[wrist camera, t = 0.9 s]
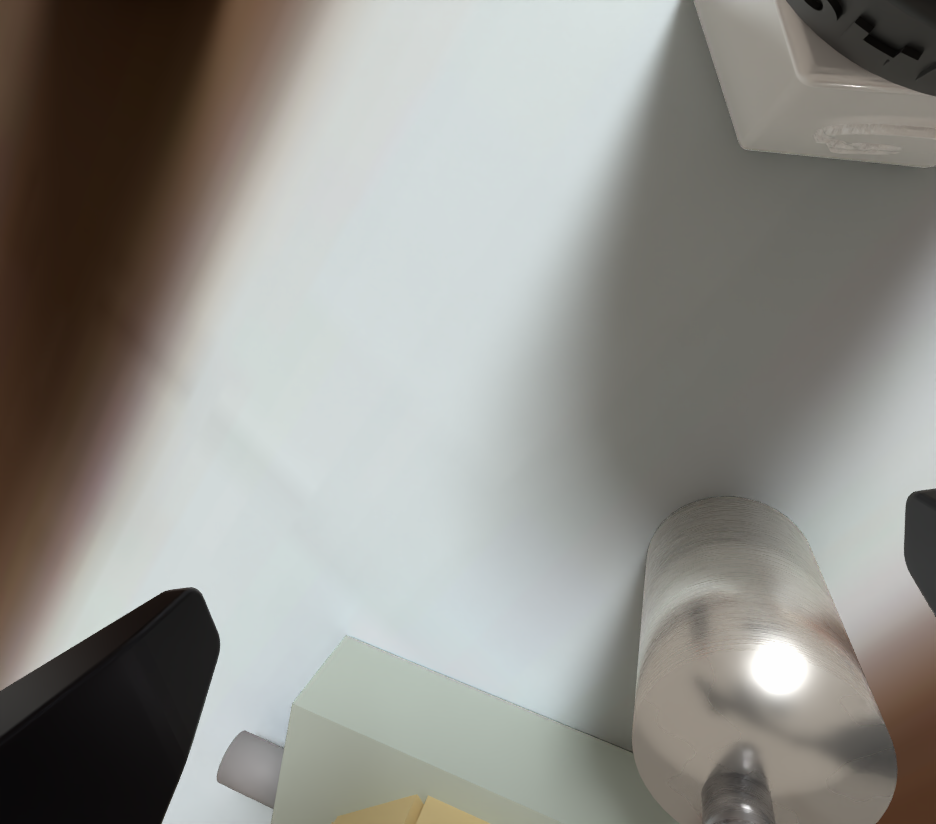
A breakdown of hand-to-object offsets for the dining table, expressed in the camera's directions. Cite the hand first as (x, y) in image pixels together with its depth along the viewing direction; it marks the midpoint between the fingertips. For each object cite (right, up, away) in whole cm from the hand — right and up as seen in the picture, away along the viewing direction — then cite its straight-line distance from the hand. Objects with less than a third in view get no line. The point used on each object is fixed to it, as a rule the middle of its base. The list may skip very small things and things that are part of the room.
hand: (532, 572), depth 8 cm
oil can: (+7, -3, +13) cm, 15 cm away
